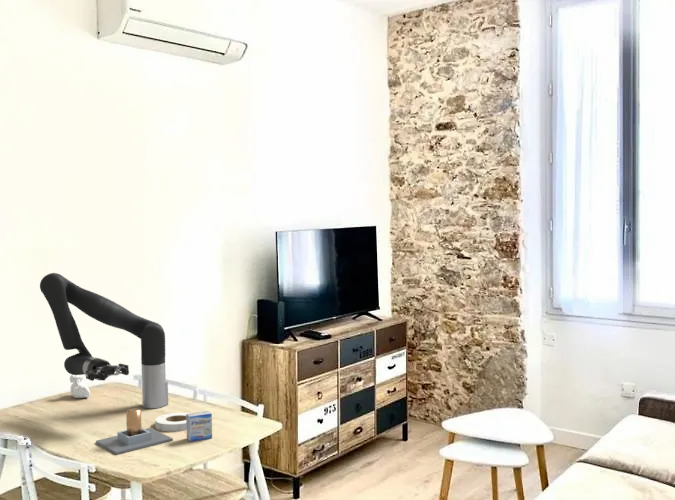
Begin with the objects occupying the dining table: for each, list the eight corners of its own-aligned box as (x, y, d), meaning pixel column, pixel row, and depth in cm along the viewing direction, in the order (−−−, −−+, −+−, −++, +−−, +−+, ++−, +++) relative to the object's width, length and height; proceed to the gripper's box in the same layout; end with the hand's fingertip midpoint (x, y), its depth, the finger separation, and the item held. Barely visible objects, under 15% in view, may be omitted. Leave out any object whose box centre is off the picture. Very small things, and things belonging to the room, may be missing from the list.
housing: (150, 430, 249) (150, 420, 249) (172, 440, 238) (172, 431, 237) (96, 442, 236) (95, 433, 236) (116, 454, 224) (116, 444, 224)
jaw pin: (137, 436, 240) (137, 407, 240) (144, 439, 237) (143, 410, 236) (124, 439, 237) (123, 410, 236) (130, 442, 233) (130, 413, 233)
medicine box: (189, 442, 236) (189, 416, 236) (186, 438, 240) (185, 413, 240) (212, 438, 240) (212, 413, 239) (208, 434, 244) (208, 410, 243)
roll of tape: (170, 417, 265) (170, 410, 265) (206, 421, 260) (206, 414, 260) (146, 430, 251) (146, 422, 251) (183, 434, 246) (183, 426, 245)
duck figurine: (72, 400, 299) (55, 382, 293) (85, 386, 303) (69, 369, 297) (86, 405, 291) (69, 387, 285) (99, 391, 295) (83, 373, 289)
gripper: (76, 362, 253) (95, 368, 241) (114, 354, 263) (134, 360, 251) (78, 382, 254) (97, 389, 242) (115, 374, 264) (135, 380, 252)
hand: (116, 374), depth 246 cm, fingers open, 8 cm apart
